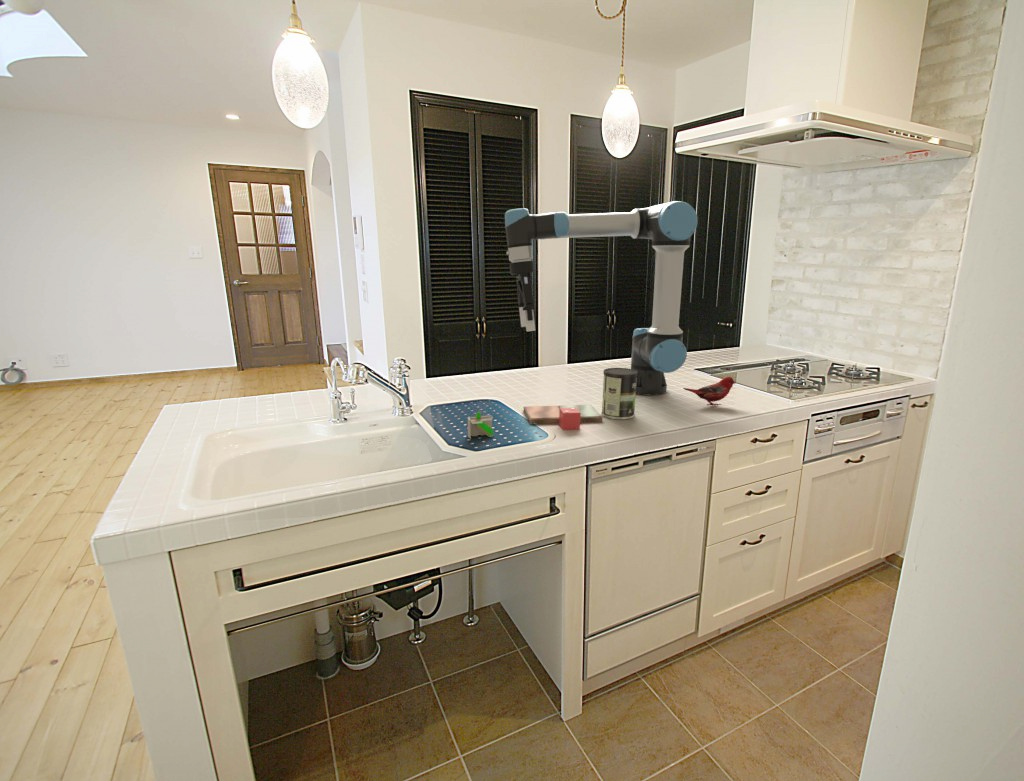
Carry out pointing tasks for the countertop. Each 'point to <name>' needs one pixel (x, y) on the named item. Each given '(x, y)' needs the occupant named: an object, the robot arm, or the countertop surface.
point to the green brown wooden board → (552, 414)
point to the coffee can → (619, 393)
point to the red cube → (569, 418)
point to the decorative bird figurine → (714, 390)
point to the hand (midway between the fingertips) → (528, 328)
